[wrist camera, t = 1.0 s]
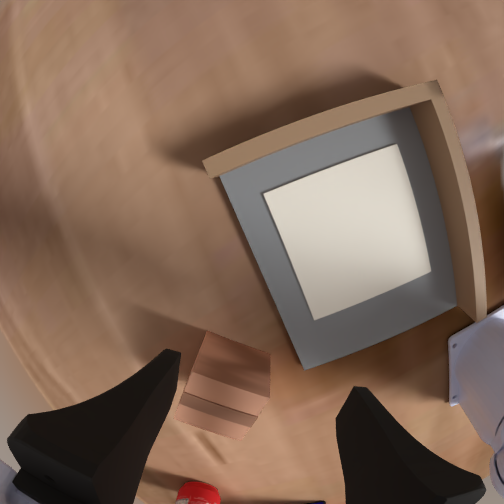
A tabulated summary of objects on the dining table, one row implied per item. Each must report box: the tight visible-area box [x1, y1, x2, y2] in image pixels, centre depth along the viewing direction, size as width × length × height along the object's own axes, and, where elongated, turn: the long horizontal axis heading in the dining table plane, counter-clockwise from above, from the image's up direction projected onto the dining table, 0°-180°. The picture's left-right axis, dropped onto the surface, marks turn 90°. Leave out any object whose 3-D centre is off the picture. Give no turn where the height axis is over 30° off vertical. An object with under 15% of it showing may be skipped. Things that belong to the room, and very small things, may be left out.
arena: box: [202, 80, 487, 370], centre depth 17 cm, size 16×14×4 cm
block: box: [174, 331, 270, 441], centre depth 20 cm, size 5×5×5 cm
